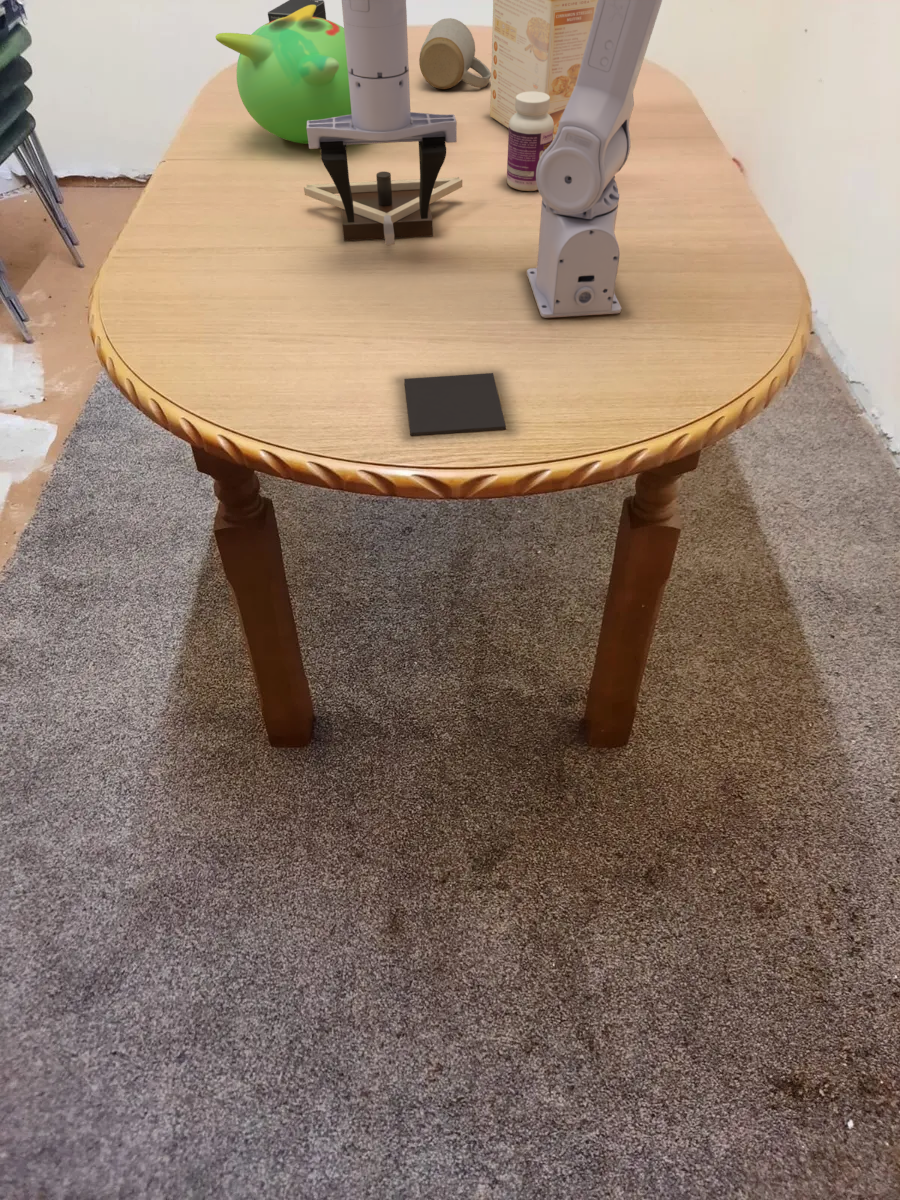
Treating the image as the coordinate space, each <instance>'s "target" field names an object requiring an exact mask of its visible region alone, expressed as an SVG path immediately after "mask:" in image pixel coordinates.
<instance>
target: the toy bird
mask: <svg viewBox="0 0 900 1200" xmlns="http://www.w3.org/2000/svg"><path fill="white" fill-rule="evenodd" d="M315 9H316V5H308V6H306V7H303V8H301V9H299V10H297V11H296V12H294V13H292V14H290V15H288V16H287V17H283V18H279V19H276V20H274V21H271V22H269V21H268V22H267V23H265V24H263V25H261V26H260V27H258V28H257V29H256V30H254V31H253V32H252V33H251V34H249V33H238V32H220V33H217V34H216V35H215V40H216V41H217V42H218V43H220V44H221V45H223V46H224V47H226V48H228V49H230V50H232V51H234V52H236V53H238V54H239V55H238V59H237V63H236V85H237V90H238V94H239V96H240V100H241V102H242V104H243V106H244V107H245V109H246V111H247V113H248V114H249V115H250V116H251V118H252V119H253V120H254V122H256V123H257V124H258V125H259V126H260V127H261V128H262V129H264V130H265V131H267V132H269V133H270V134H272V135H274V136H275V137H278V138H280V139H282V140H285V141H288V142H293V143H296V144H305V145H309V144H308V136H307V121H308V120H321V119H327V118H333V117H339V116H345V115H351V102H350V90H349V79H348V69H347V57H346V46H345V34H344V26H342V25H340V24H338V23H336V22H334V21H331V20H329V19H327V18H326V19H323V18H319V17H313V14H314V12H315Z"/></svg>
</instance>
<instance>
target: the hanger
mask: <svg viewBox="0 0 900 1200" xmlns="http://www.w3.org/2000/svg"><path fill="white" fill-rule="evenodd" d="M349 182H350V181H349ZM350 188H351V193H361V192H378V190H377V180H373V181H371V180H370V181H353V182H350ZM461 188H463V178H460V177H459V176H453V177H452V176H451V177H437V178H436V181H435V184H434V187H433V191H432V194H431V198H430V203H429V205H431V204H433V203H435V202H436V201H438V200H441V199H443V198H444V197H446V196H448V195H451V194H452V193H454V192H455V191H458V190H460V189H461ZM391 189H392V191H400V190H419V189H420V178H411V179H394V180H392V179H391ZM303 192H304V196H306V197H309V198H311V199H315V200H317V201H320V202H323V203H325V204H328V205H331V206H333V207H336V208H339V209H341V210H342V209H344V210H345V208H344V205H343V202H342V199H341V197H340V194H339V192H338V190H337V188H336V186H335V184H334V182H333V183H312V184H306V186H304V187H303ZM353 208H354V213H355V214H358V215H361V216H363V217H366V218H369V219H371V220H374V221H377V222H380V223H382V224H384V236H385V238H384V245H386V246H391V245H395V244H396V242H395V240H396V239H395V238H394V229H393V223H394V222H396V221H398V220H400V219H402V218H404V217H406V216H408V215H409V214H411V213H413V212H415V211H417V210H419V209H420V206H419V197H417V198H415V199H413V200H411V201H409V202H408V203H406V204H404V205H402V206H400V207H398V208H396V209H394V210H392V211H390V212H388V213H385V212H382V211H380V210H377V209H374V208H371V207H369V206H366V205H363V204H360V203H357V202H355V201H353Z"/></svg>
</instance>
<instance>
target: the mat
mask: <svg viewBox="0 0 900 1200" xmlns="http://www.w3.org/2000/svg"><path fill="white" fill-rule="evenodd" d="M494 375H495V374H494V372H488V373H487V372H486V373H474V374H473V373H471V374H457V375H443V376H442V375H441V376H427V377H426V376H425V377H409V378H404V389H405V399H406V407H407V416H408V424H409V434H410V436H426V435H427V436H428V435H442V434H453V433H469V432H483V431H498V430H506V429H507V425H506V421H505V417H504V413H503V409H502V405H501V401H500V396H499V392H498V388H497V384H496V380H495V376H494Z"/></svg>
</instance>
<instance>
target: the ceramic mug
mask: <svg viewBox="0 0 900 1200" xmlns="http://www.w3.org/2000/svg"><path fill="white" fill-rule="evenodd" d="M475 54H476V43H475V38H474V37H473V33H472V31H471V30H470V29H469V28H468V27H467V25H466V24H464V23H463V21H460V20H458V19H456V18H452V17H448V18H442V19H440V20H438V21H436V22H435V23H434V24H433V25H432V26H431V28H430V30H429V32H428V34H427V36H426V38H425V39H424V42H423V44H422V46H421V49H420V52H419V60H418V62H419V63H418V64H419V65H418V66H419V69H420V72H421V74H422V77H423V79H424V80H425V81H426V82H427V83H428V84H429V85H430V86H431V87H433V88H435V89H439V90H448V89H451V88H453V87H455V86H456V85H458V84H459V83H460V82H462V81H463V82H464V83H466V84H468V85H470V86H472V87H475V88H480V89H481V88H482V89H483V88H486V87H487V86H488V84H489V82H490V81H491V71H490V68H489V67H488V66H487V65H485V63H483V62H482V61H481V60H480V59H479V58H478V57H476V55H475ZM470 69H472V70H473V71H475V72H476V73H477V74H478V75H480V76H478V75H476V74H474V73H472V72H470V71H469V70H470Z"/></svg>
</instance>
